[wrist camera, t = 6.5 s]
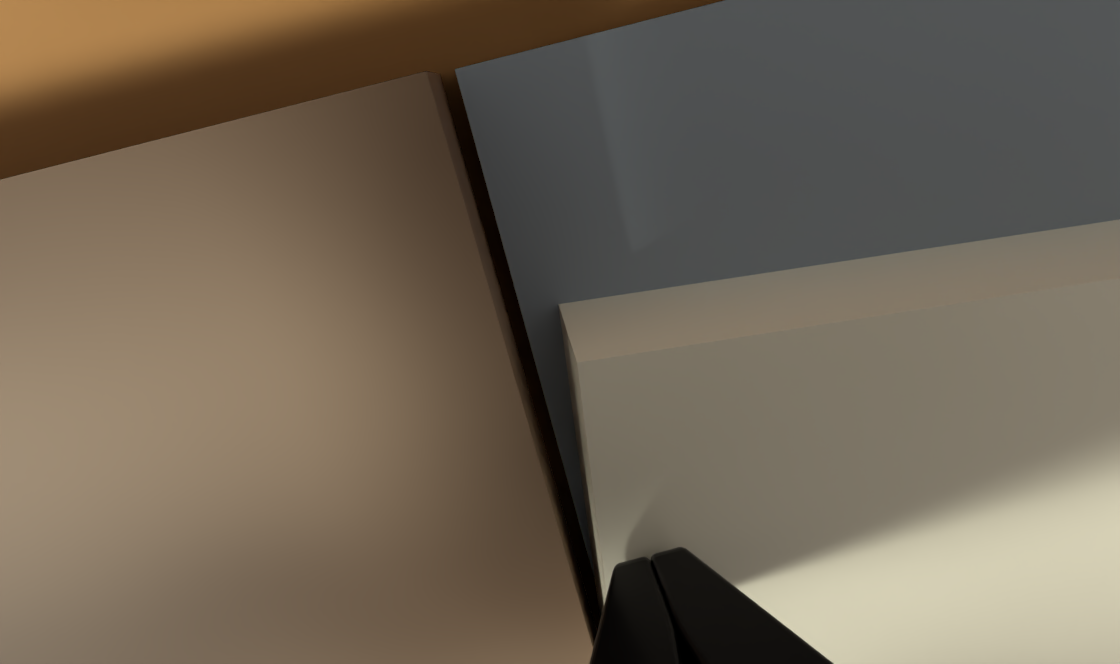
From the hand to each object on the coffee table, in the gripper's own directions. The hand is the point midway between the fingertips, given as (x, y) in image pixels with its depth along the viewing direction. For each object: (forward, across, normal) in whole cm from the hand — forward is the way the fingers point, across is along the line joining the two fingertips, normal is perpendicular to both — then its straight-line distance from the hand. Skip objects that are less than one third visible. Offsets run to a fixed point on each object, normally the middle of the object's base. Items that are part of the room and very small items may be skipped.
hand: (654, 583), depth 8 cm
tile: (+2, -4, 0) cm, 4 cm away
